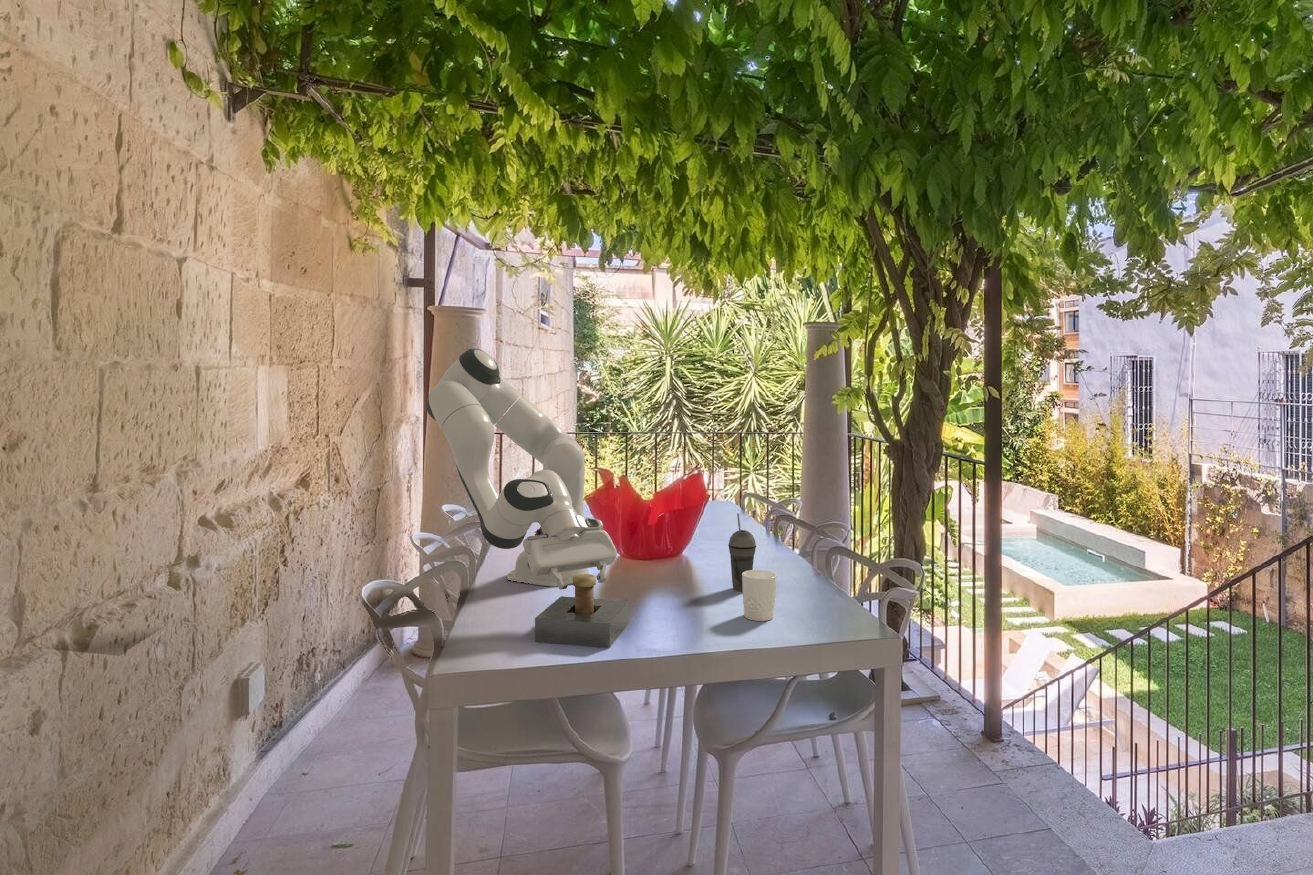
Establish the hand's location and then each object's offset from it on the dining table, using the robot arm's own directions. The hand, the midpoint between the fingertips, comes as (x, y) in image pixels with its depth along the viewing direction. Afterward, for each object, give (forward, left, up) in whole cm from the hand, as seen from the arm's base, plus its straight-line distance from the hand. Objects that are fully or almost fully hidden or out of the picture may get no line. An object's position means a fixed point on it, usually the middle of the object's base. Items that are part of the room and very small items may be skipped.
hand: (583, 584), depth 157 cm
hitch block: (+1, -2, -10) cm, 10 cm away
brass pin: (+1, -2, -10) cm, 10 cm away
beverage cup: (+31, +39, -10) cm, 51 cm away
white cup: (+37, +17, -10) cm, 42 cm away
